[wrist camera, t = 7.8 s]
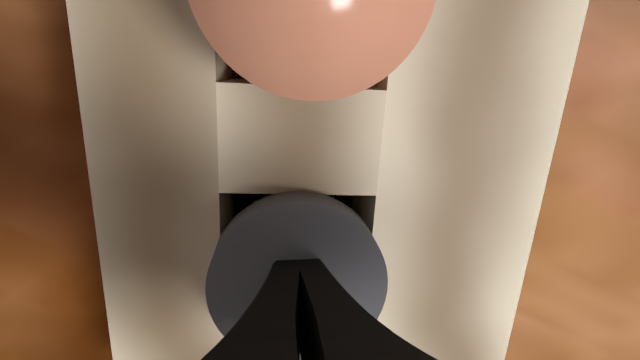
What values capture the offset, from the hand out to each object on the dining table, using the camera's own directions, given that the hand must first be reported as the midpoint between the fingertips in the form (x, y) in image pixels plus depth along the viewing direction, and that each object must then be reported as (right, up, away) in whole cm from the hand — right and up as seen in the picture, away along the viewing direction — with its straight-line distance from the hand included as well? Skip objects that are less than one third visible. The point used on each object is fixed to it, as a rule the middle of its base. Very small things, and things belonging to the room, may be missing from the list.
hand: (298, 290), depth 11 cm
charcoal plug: (0, +1, +4) cm, 5 cm away
